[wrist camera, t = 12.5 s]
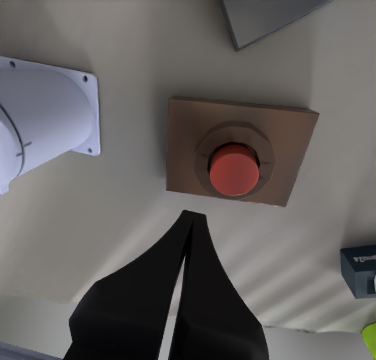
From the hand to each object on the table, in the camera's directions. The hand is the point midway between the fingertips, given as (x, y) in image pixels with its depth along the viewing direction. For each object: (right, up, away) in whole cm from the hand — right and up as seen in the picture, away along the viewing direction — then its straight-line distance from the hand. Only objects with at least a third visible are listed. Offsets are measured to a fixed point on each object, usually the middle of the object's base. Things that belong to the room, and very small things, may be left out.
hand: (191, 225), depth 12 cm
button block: (+4, +6, +8) cm, 11 cm away
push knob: (+4, +4, +5) cm, 7 cm away
